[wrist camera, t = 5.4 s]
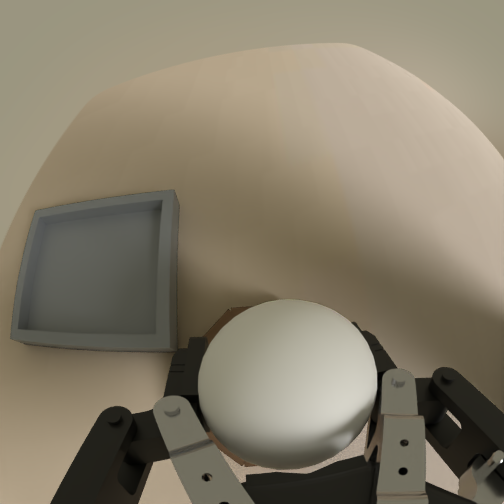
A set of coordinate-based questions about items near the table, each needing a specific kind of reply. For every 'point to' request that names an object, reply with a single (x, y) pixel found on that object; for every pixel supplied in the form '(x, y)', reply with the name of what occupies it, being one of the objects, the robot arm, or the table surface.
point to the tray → (101, 276)
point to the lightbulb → (287, 384)
